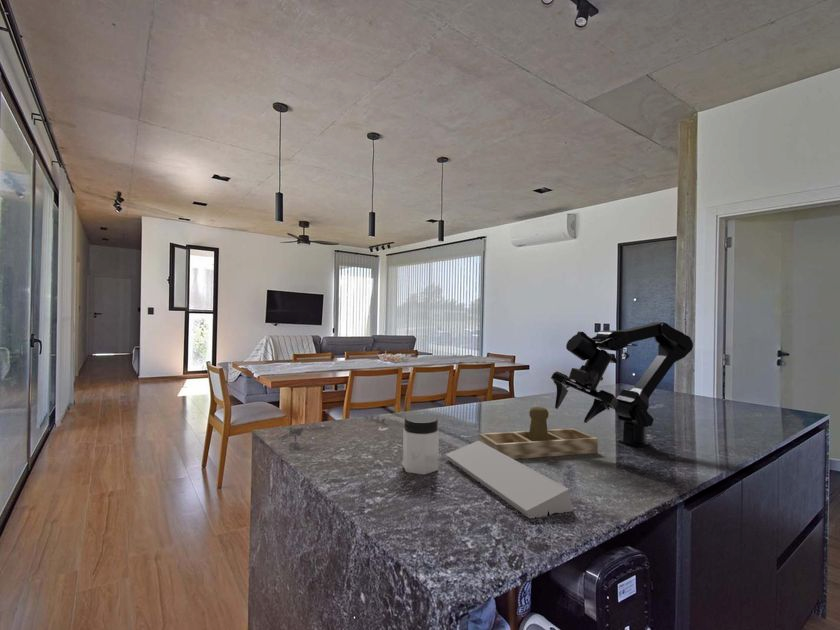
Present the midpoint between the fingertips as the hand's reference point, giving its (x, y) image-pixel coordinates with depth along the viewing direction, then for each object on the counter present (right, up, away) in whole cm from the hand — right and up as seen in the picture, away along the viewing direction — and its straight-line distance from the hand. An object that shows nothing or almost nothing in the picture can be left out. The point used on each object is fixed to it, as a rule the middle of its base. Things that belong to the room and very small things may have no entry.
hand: (569, 415), depth 122 cm
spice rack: (-10, -9, -3) cm, 14 cm away
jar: (-43, -8, -19) cm, 48 cm away
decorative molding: (-25, -9, -27) cm, 38 cm away
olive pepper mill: (-10, -8, -3) cm, 13 cm away
